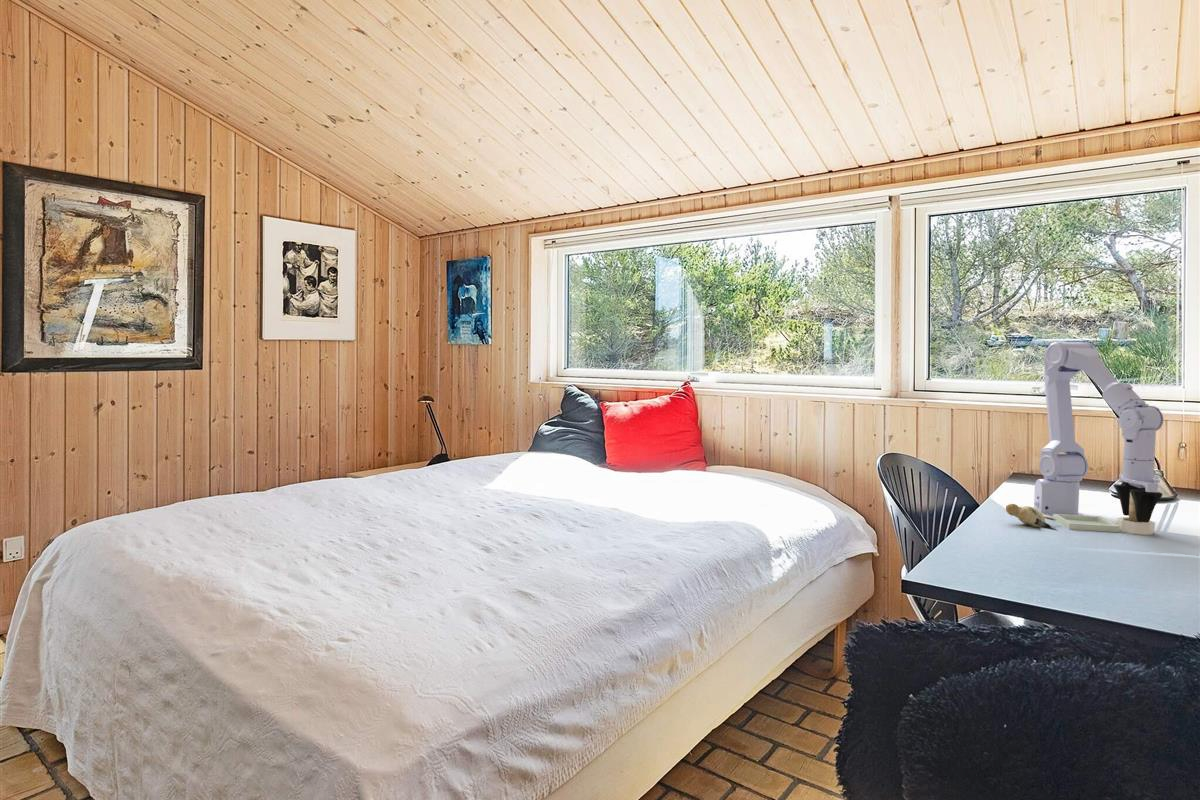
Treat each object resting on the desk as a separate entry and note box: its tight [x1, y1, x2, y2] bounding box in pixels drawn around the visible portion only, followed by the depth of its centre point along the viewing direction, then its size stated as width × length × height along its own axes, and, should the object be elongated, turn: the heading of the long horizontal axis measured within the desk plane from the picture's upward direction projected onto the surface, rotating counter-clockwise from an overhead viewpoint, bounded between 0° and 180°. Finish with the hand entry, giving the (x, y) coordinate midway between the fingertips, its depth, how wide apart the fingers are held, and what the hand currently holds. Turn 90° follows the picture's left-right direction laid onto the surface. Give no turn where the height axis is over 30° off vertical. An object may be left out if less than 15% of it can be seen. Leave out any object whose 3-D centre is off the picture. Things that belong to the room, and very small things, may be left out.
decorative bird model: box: [1005, 503, 1058, 531], centre depth 172 cm, size 4×13×10 cm
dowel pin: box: [1128, 493, 1143, 523], centre depth 166 cm, size 3×3×9 cm
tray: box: [1052, 514, 1120, 533], centre depth 172 cm, size 10×11×2 cm
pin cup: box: [1116, 516, 1156, 536], centre depth 167 cm, size 6×6×3 cm
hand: (1135, 518), depth 166 cm, fingers open, 6 cm apart
